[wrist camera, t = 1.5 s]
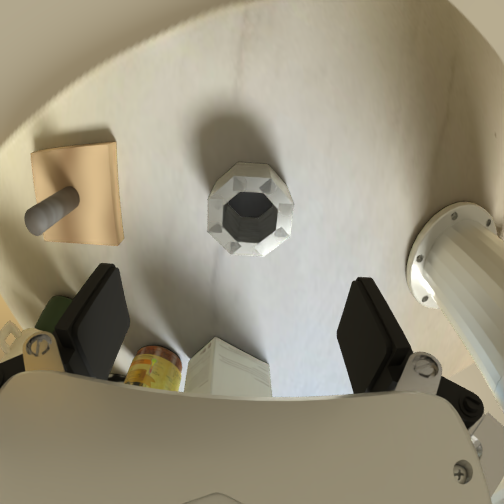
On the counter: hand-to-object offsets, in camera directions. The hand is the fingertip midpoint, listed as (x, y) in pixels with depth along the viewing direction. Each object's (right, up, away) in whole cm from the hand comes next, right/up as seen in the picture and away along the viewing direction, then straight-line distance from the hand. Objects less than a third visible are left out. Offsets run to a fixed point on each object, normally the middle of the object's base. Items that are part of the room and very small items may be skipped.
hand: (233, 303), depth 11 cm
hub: (+1, +6, +12) cm, 14 cm away
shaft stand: (-15, +7, +12) cm, 21 cm away
